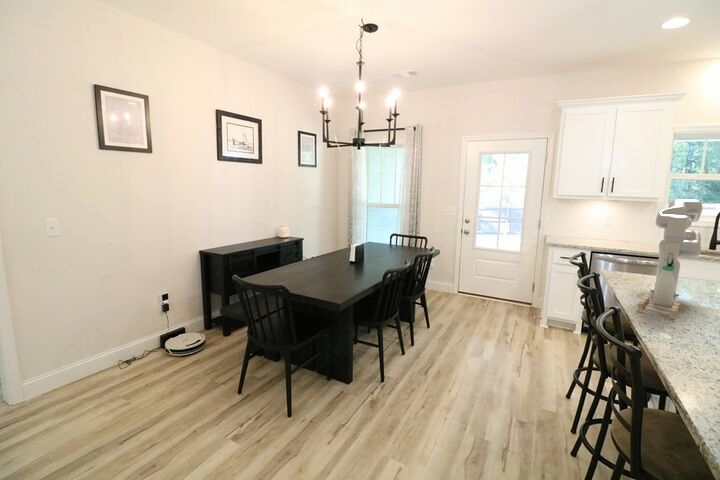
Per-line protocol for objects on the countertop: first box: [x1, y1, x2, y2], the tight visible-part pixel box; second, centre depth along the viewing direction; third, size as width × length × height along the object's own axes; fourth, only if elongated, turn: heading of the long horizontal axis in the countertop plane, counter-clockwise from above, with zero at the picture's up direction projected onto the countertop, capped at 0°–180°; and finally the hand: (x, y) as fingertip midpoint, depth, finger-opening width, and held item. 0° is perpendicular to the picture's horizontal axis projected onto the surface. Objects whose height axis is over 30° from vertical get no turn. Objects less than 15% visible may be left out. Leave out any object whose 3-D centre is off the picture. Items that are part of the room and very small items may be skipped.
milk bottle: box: [652, 266, 675, 306], centre depth 180 cm, size 8×8×20 cm
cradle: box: [636, 294, 682, 320], centre depth 172 cm, size 20×14×4 cm
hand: (668, 273), depth 185 cm, fingers closed
